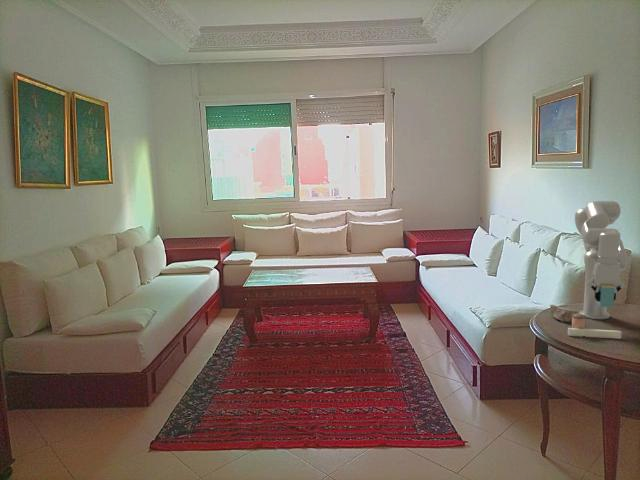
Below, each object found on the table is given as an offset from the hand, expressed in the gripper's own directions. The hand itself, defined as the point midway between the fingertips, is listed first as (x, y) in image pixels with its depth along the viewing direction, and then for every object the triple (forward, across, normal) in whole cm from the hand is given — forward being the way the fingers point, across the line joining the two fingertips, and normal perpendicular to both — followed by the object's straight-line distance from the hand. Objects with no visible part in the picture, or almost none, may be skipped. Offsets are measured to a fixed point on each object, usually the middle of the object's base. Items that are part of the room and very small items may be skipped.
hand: (604, 300), depth 215 cm
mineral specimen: (+14, +14, -10) cm, 22 cm away
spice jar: (+13, +12, +8) cm, 19 cm away
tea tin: (+2, 0, 0) cm, 2 cm away
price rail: (+13, +6, +11) cm, 18 cm away
